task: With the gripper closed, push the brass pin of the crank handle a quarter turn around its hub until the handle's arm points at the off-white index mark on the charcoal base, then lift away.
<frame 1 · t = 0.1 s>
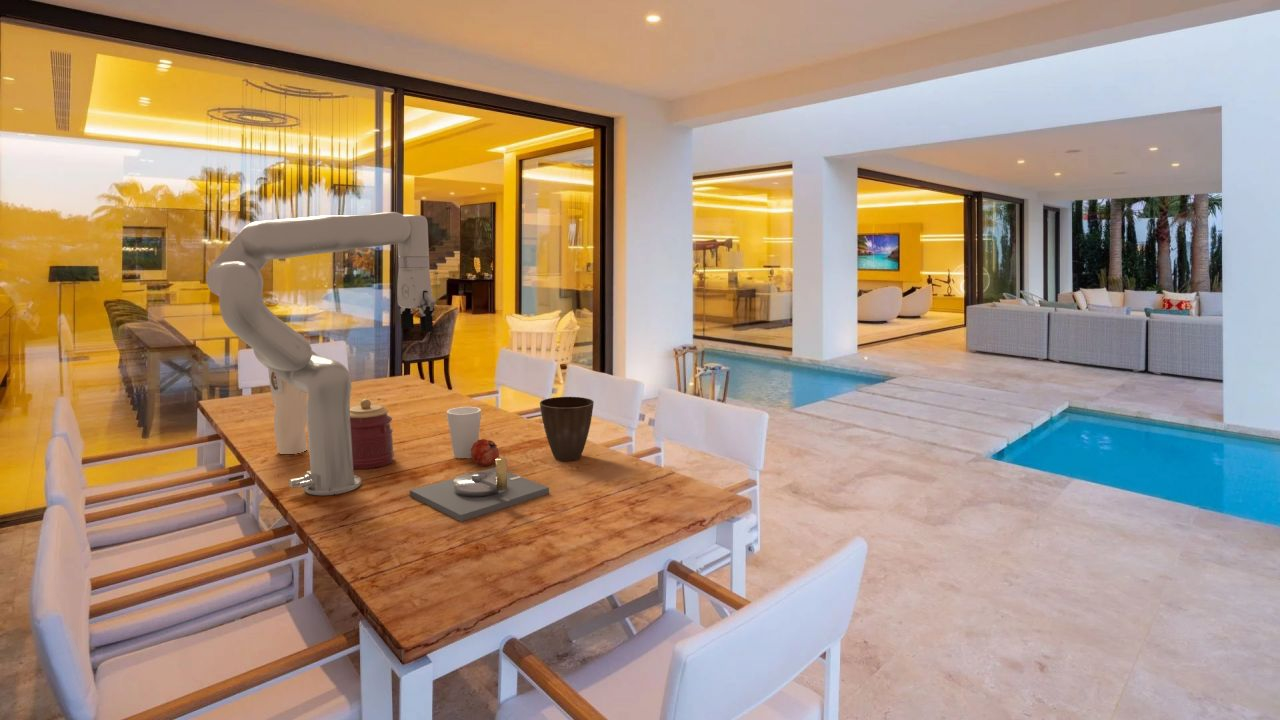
hand: (417, 330, 176), 37 cm above the table, tool pointing down, fingers open, 9 cm apart
crank handle: (484, 471, 158), point 6 cm above the table, hinge at 0.0°
canister: (369, 463, 185), on the table
water bottle: (292, 452, 194), on the table
plant pot: (567, 458, 190), on the table
pomegranate: (484, 465, 184), on the table
foam cup: (465, 456, 192), on the table
dial base: (480, 494, 161), on the table
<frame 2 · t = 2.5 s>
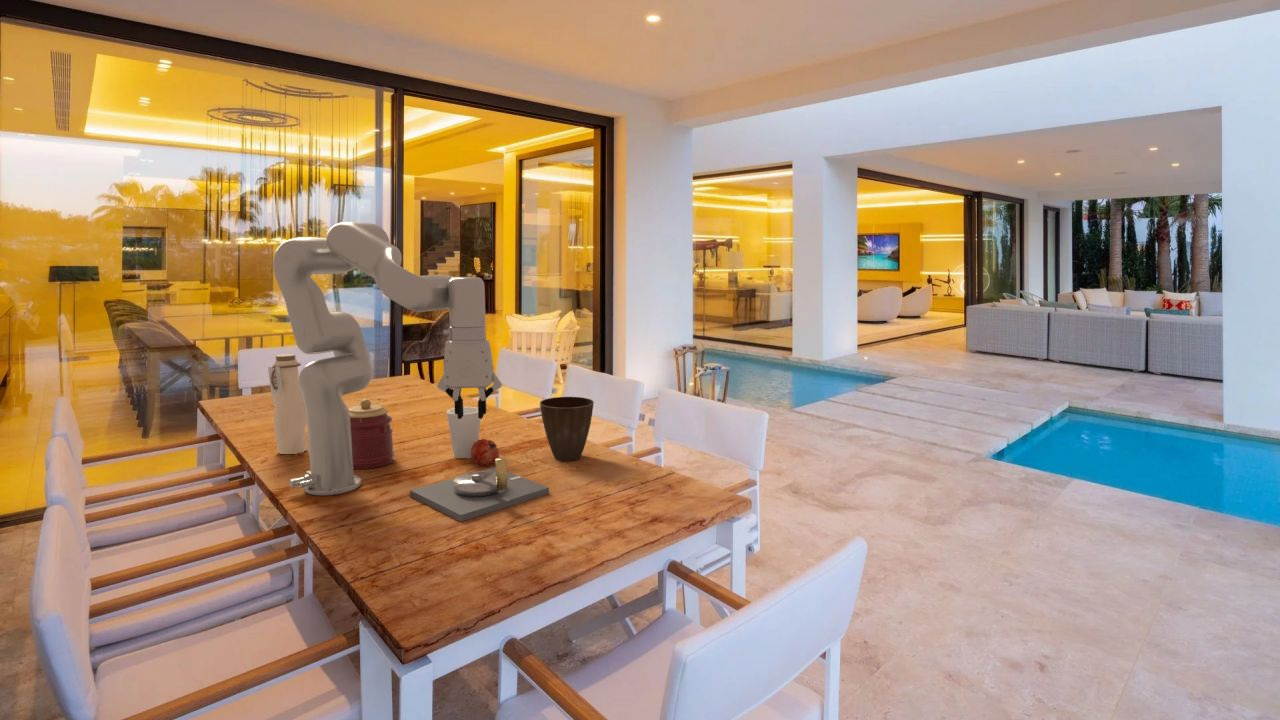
hand: (470, 416, 148), 21 cm above the table, tool pointing down, fingers open, 3 cm apart
nothing on the table moved.
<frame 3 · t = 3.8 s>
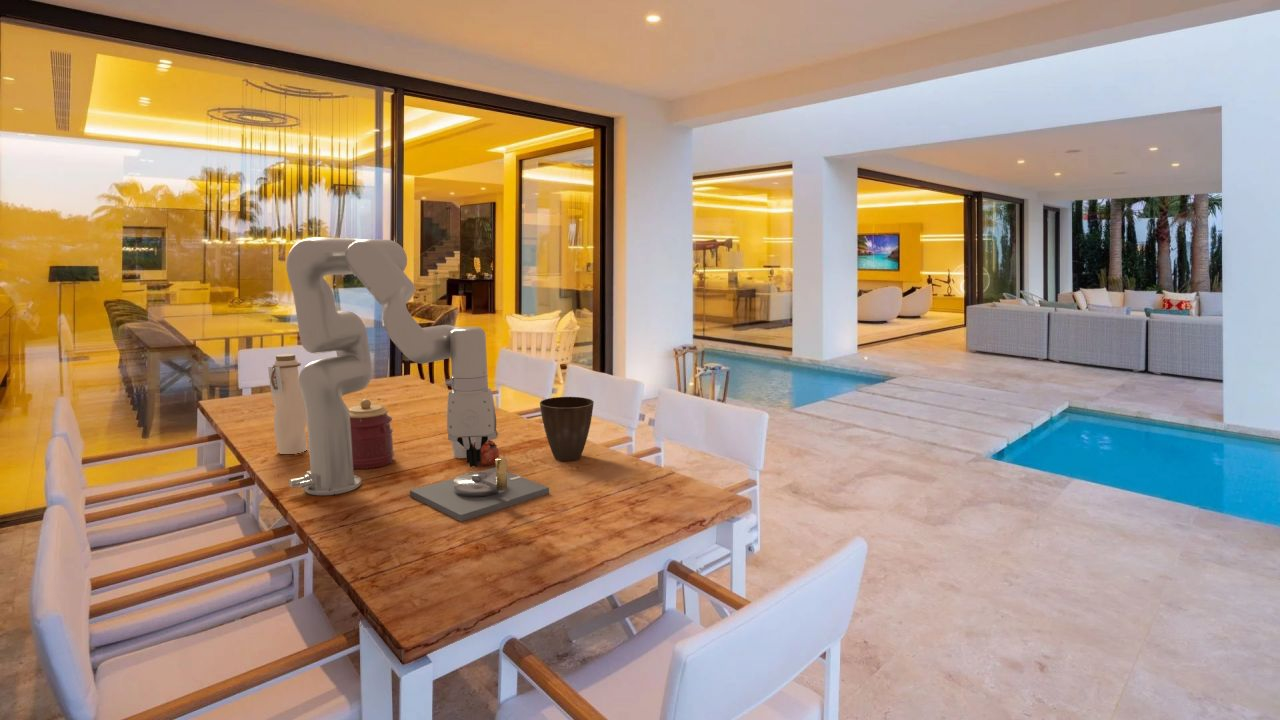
hand: (474, 465, 150), 10 cm above the table, tool pointing down, fingers closed
nothing on the table moved.
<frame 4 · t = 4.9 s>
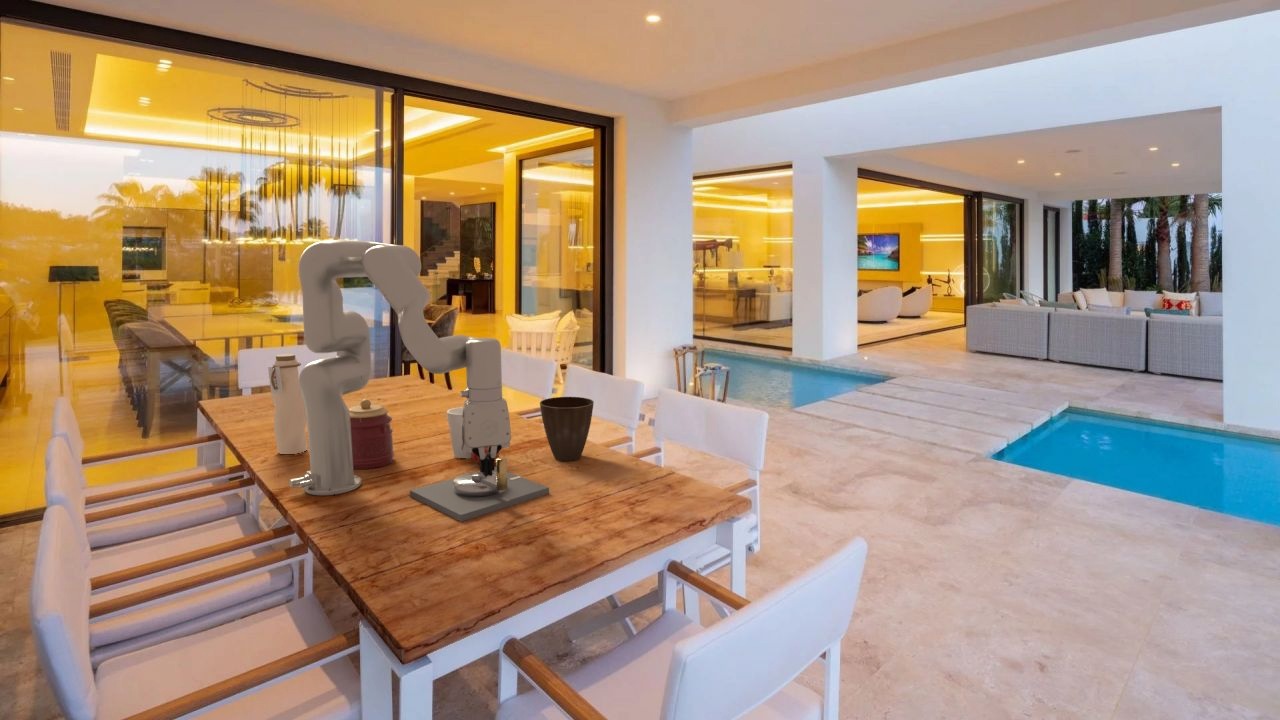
hand: (487, 474, 152), 8 cm above the table, tool pointing down, fingers closed
crank handle: (484, 471, 158), point 6 cm above the table, hinge at 0.5°, touching gripper
everything else where it was.
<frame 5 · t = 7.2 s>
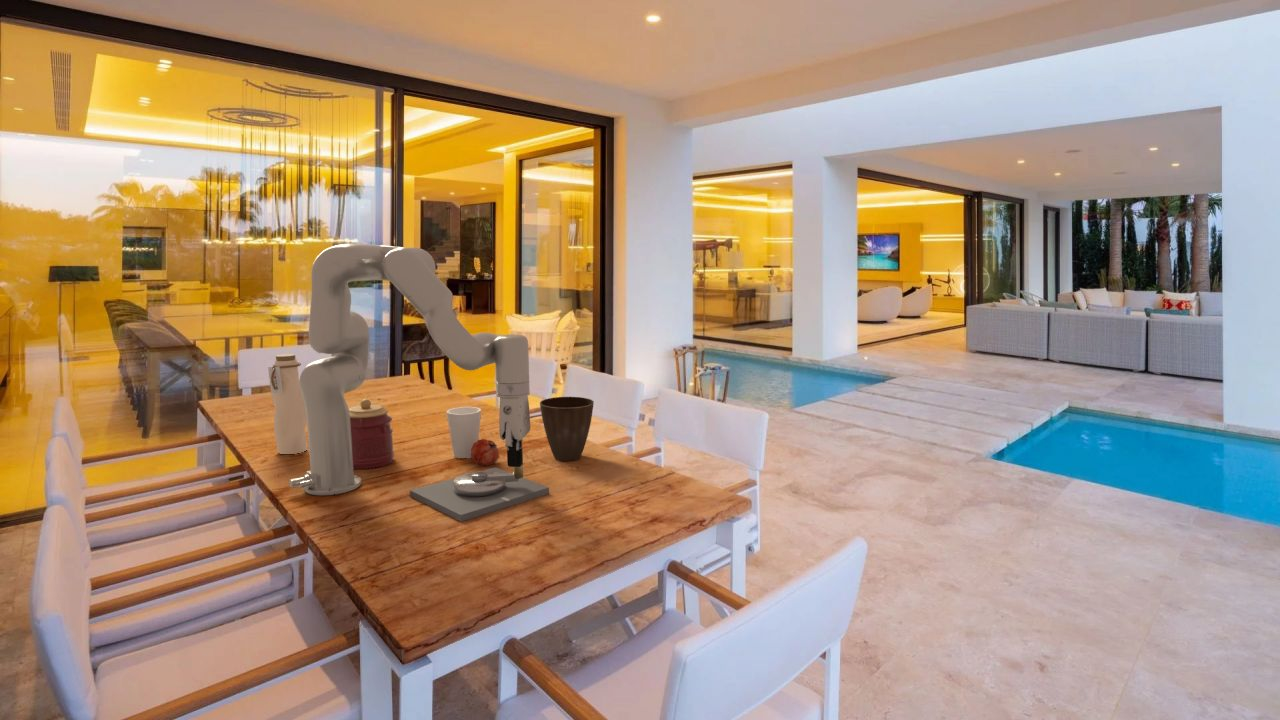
hand: (515, 465, 158), 8 cm above the table, tool pointing down, fingers closed
crank handle: (488, 468, 160), point 6 cm above the table, hinge at 55.9°, touching gripper
everything else where it was.
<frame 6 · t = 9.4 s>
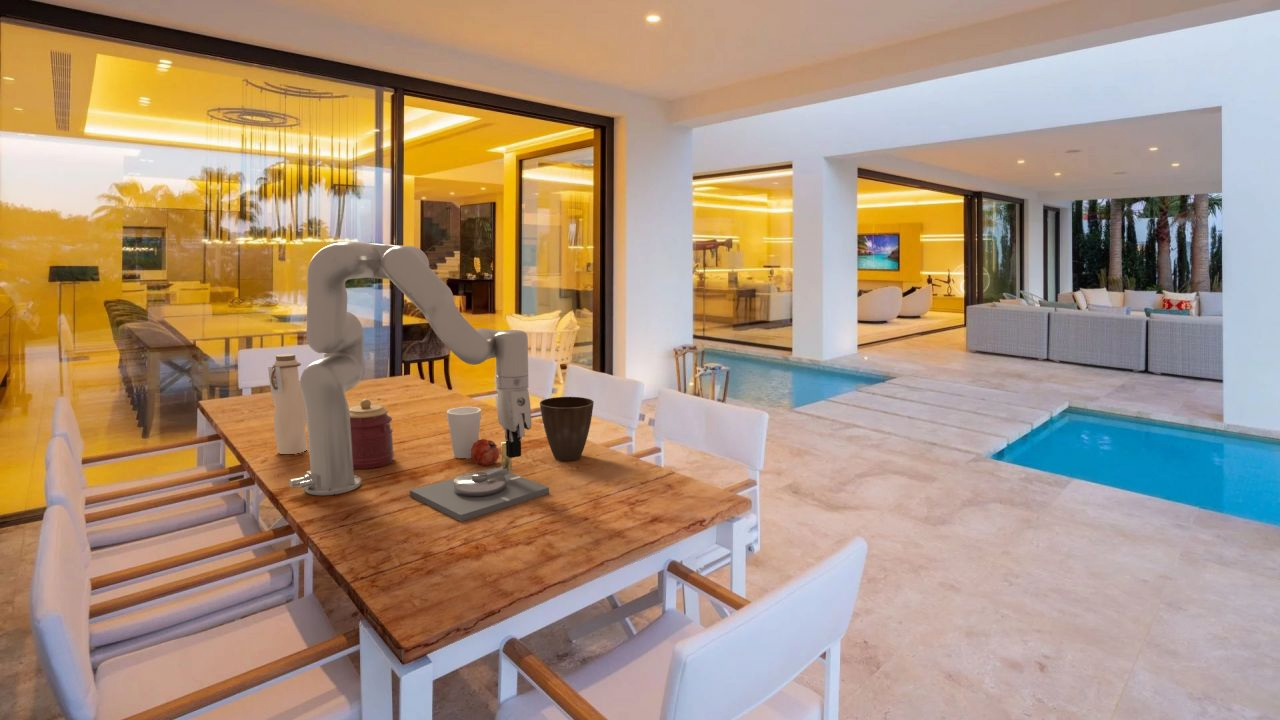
hand: (513, 456, 164), 8 cm above the table, tool pointing down, fingers closed
crank handle: (485, 467, 161), point 6 cm above the table, hinge at 99.6°
everything else where it was.
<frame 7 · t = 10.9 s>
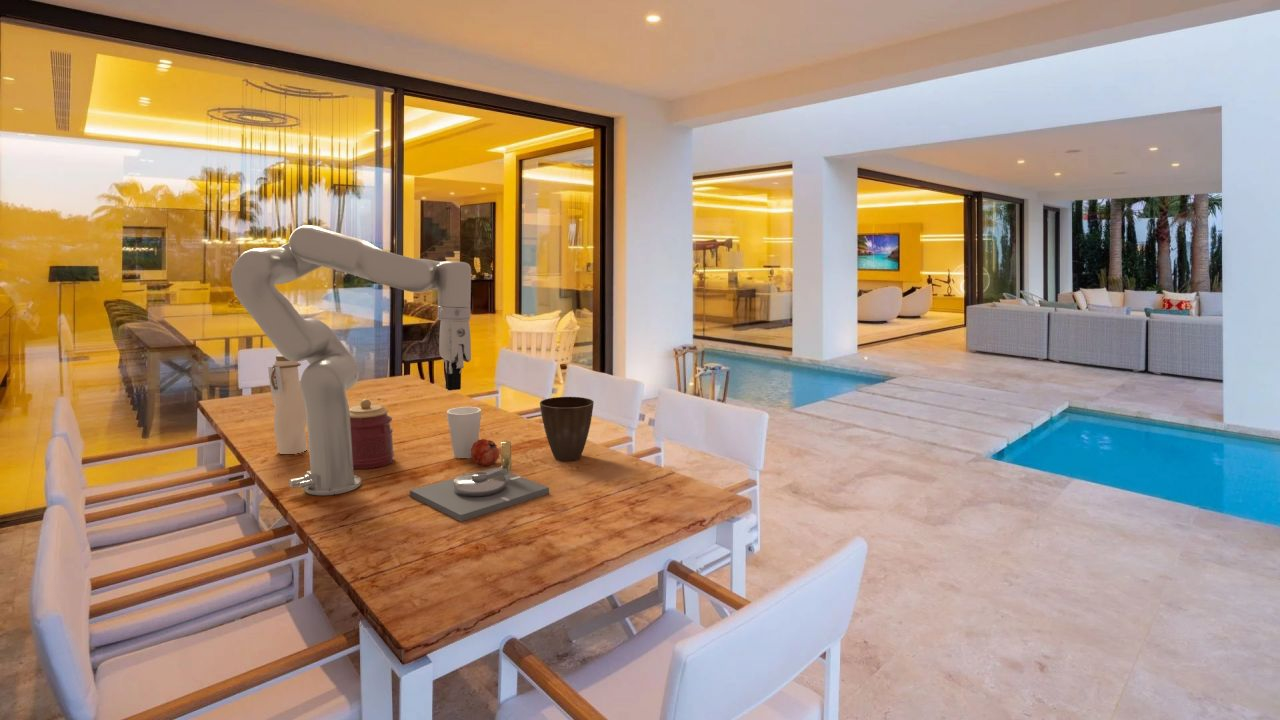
hand: (453, 389, 164), 24 cm above the table, tool pointing down, fingers closed
crank handle: (485, 466, 161), point 6 cm above the table, hinge at 100.2°
everything else where it was.
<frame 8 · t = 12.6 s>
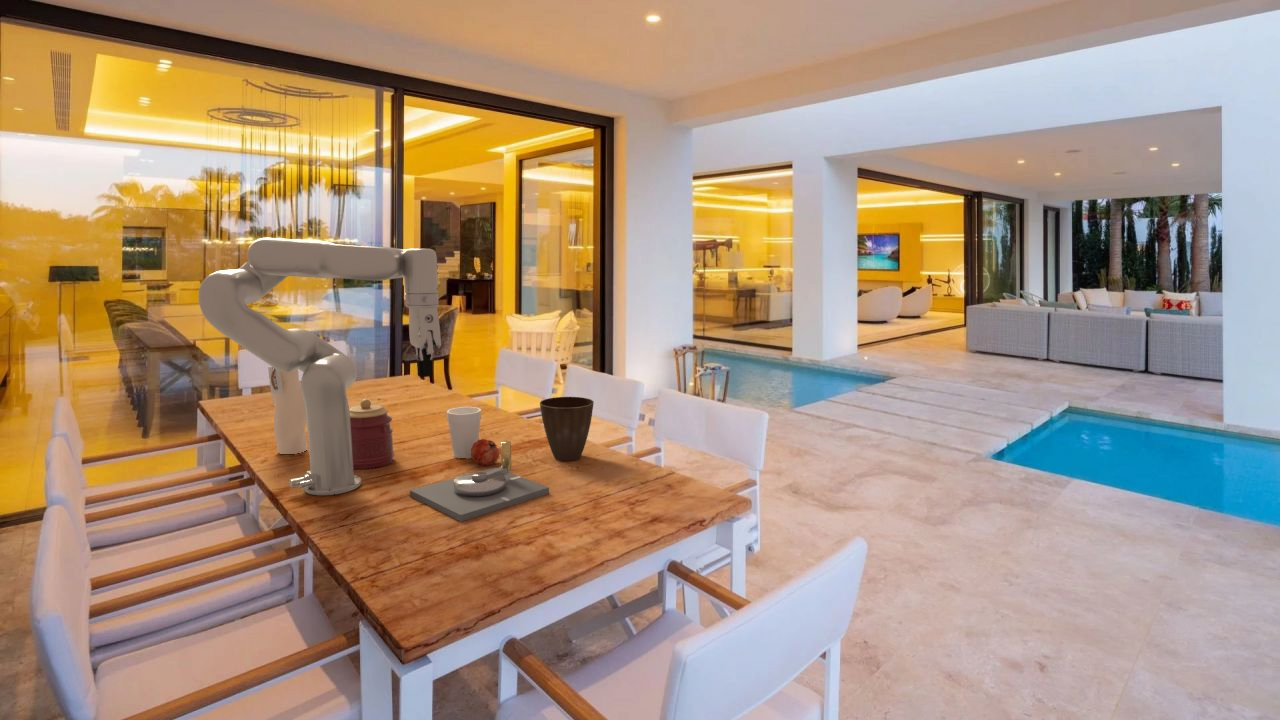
hand: (425, 376, 164), 27 cm above the table, tool pointing down, fingers closed
nothing on the table moved.
at the end: crank handle at +100° (first picture: +0°) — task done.
